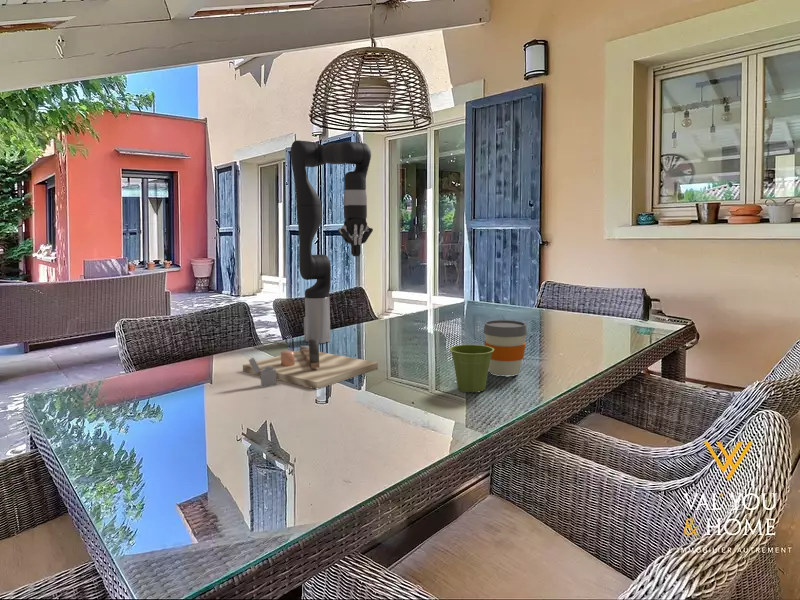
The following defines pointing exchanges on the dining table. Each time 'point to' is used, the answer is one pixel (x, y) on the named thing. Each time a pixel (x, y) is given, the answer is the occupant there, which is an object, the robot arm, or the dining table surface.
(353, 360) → the board
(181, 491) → the dining table surface
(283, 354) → the peach rounded cube
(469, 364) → the plant pot
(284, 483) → the dining table surface
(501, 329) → the reusable coffee cup
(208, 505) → the dining table surface
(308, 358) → the lever
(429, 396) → the dining table surface
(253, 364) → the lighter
